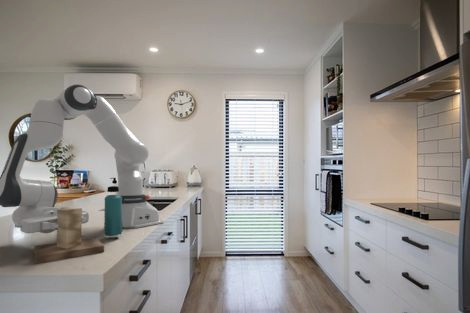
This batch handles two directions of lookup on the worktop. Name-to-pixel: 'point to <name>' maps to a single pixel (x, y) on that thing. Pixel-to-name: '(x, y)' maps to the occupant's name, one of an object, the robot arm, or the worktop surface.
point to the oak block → (69, 227)
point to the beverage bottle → (113, 213)
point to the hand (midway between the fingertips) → (70, 223)
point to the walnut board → (67, 250)
